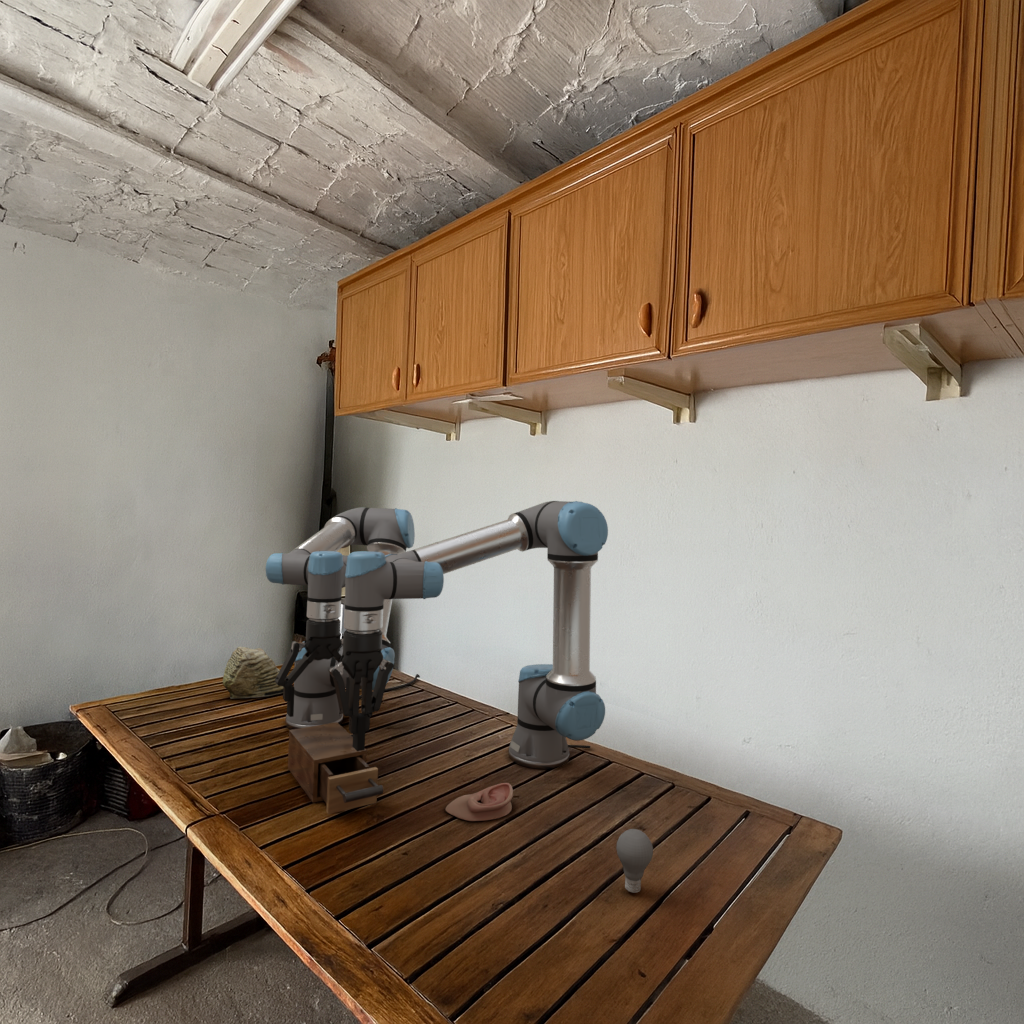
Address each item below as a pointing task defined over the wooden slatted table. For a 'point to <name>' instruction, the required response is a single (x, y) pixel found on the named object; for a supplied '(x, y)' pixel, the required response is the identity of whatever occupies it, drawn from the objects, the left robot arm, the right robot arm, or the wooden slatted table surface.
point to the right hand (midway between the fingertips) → (358, 748)
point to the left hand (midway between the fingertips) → (320, 710)
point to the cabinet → (317, 753)
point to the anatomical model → (483, 804)
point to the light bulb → (634, 857)
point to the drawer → (347, 784)
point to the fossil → (251, 674)
